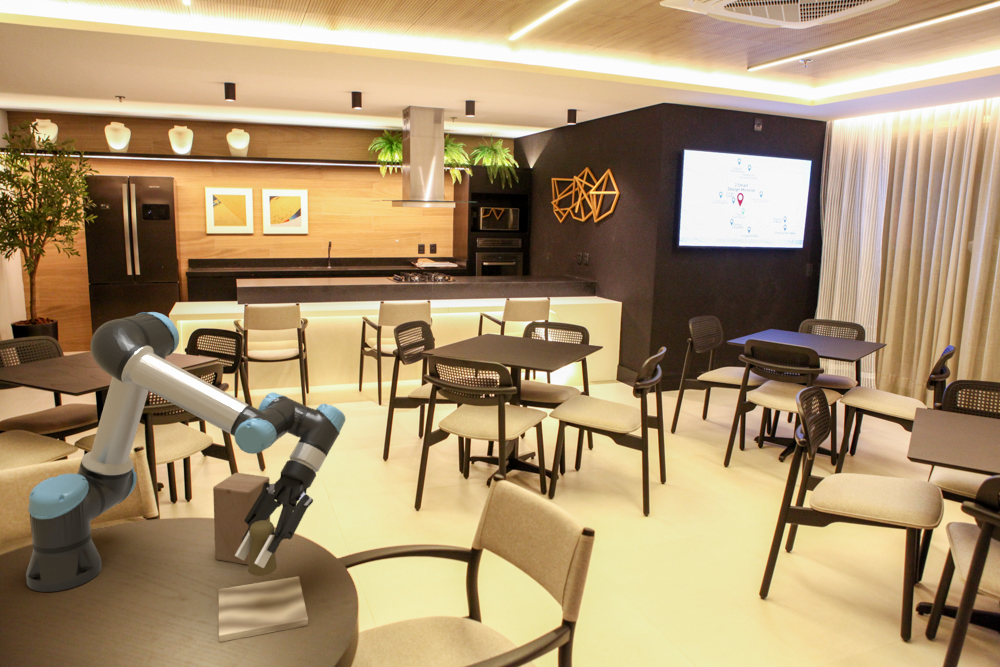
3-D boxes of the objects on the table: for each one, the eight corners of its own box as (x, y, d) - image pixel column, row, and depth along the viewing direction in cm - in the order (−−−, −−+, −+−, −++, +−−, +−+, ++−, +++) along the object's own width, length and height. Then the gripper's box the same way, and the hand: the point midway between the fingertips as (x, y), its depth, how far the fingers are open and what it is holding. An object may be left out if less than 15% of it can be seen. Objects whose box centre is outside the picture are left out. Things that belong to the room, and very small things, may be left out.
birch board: (218, 595, 155) (218, 589, 154) (298, 581, 162) (298, 576, 161) (219, 642, 139) (218, 635, 138) (308, 625, 146) (308, 619, 145)
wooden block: (250, 566, 168) (248, 491, 164) (214, 560, 169) (212, 486, 166) (271, 546, 177) (270, 476, 174) (237, 541, 179) (235, 471, 175)
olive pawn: (260, 579, 144) (259, 532, 142) (242, 570, 147) (241, 524, 145) (282, 567, 149) (282, 521, 147) (264, 558, 152) (263, 514, 150)
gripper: (340, 481, 154) (289, 579, 143) (282, 465, 163) (229, 556, 151) (324, 467, 149) (270, 568, 137) (265, 451, 157) (209, 544, 146)
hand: (249, 561), depth 144 cm, fingers closed on olive pawn, 5 cm apart
